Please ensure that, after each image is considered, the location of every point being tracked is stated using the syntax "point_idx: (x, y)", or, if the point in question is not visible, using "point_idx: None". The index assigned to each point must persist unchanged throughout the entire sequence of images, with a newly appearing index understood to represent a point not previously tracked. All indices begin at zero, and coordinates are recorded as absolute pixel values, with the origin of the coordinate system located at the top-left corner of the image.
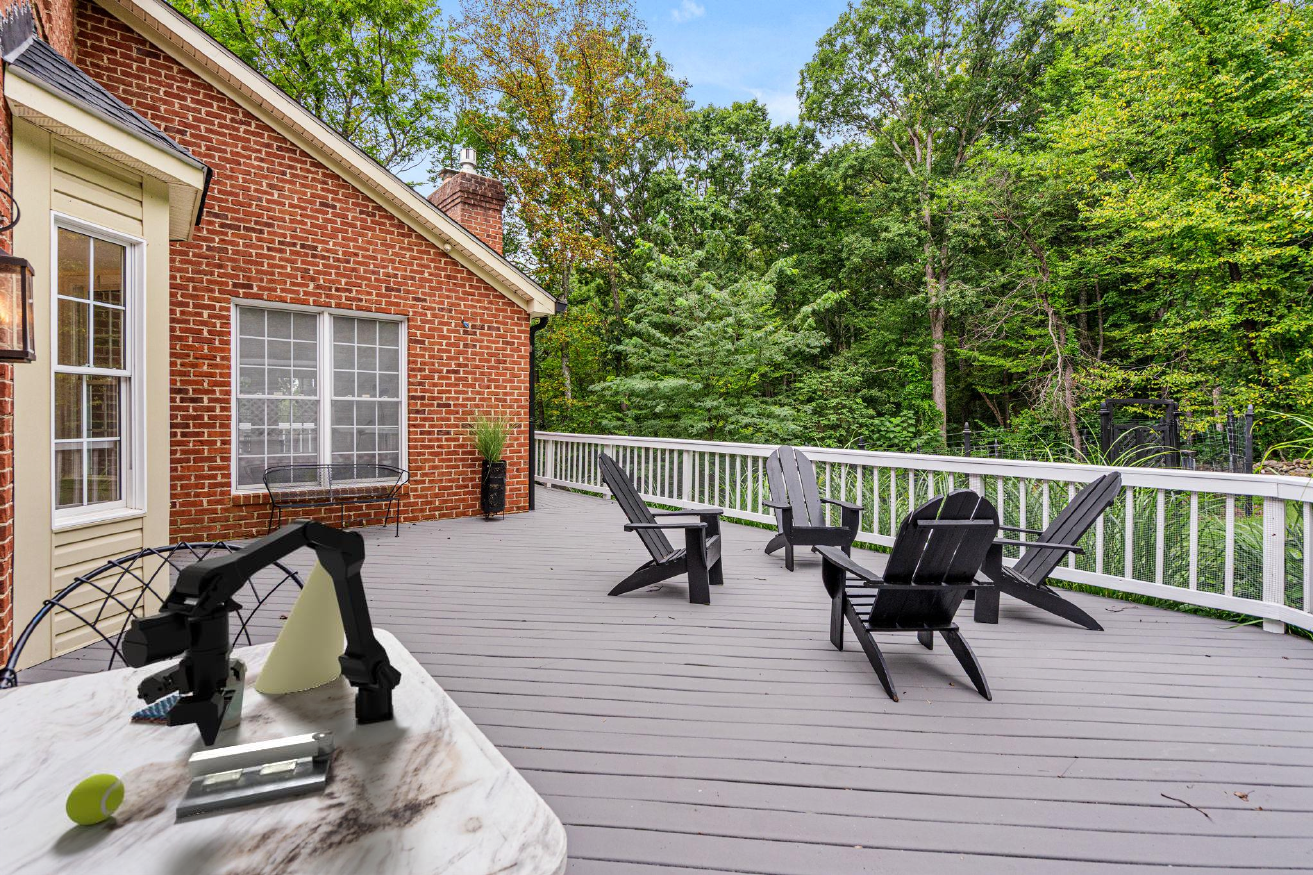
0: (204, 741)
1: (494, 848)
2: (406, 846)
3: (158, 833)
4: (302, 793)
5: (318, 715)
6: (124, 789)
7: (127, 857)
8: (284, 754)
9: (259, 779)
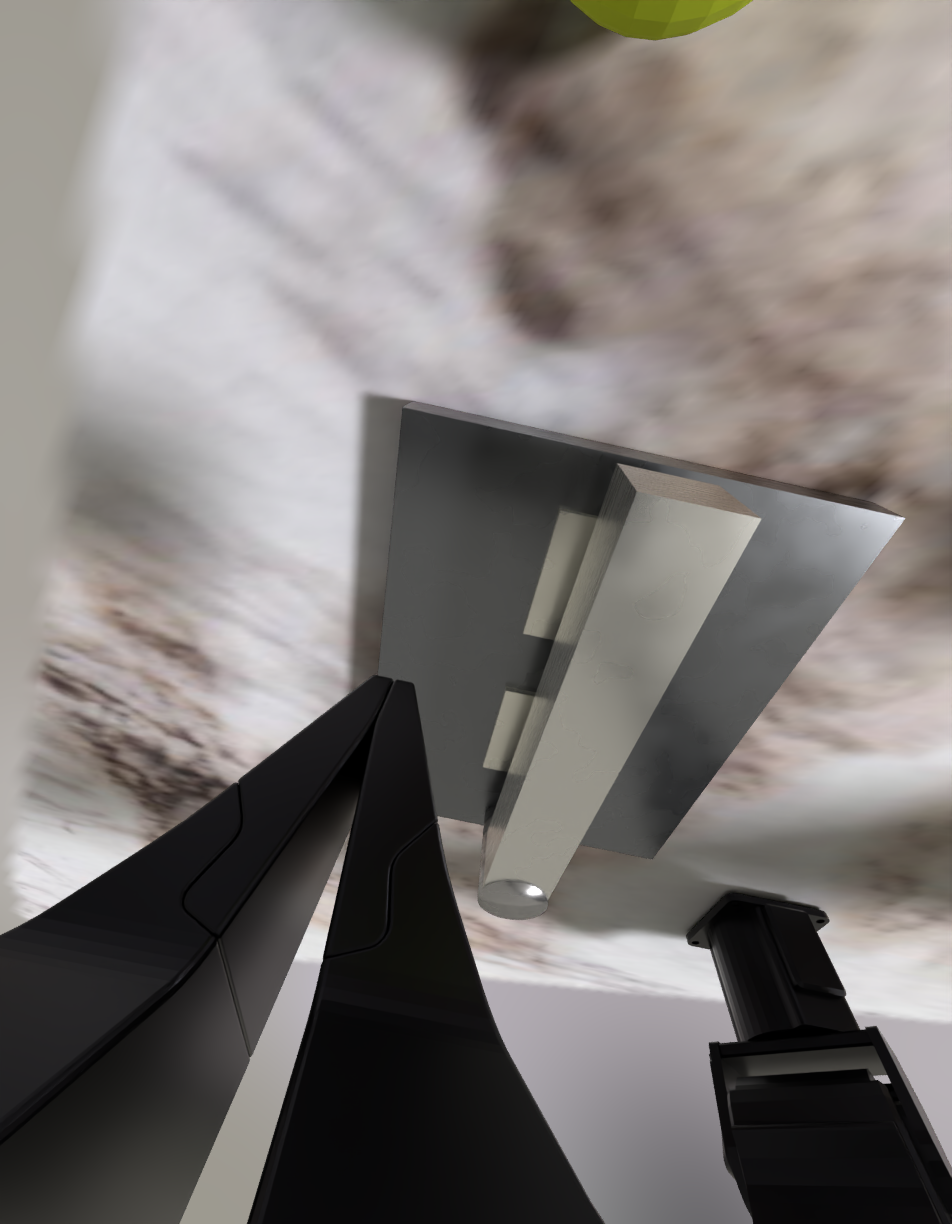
0: (346, 699)
1: (53, 892)
2: (77, 827)
3: (314, 334)
4: None
5: (943, 847)
6: (707, 11)
7: (151, 210)
8: (509, 790)
9: (481, 683)
